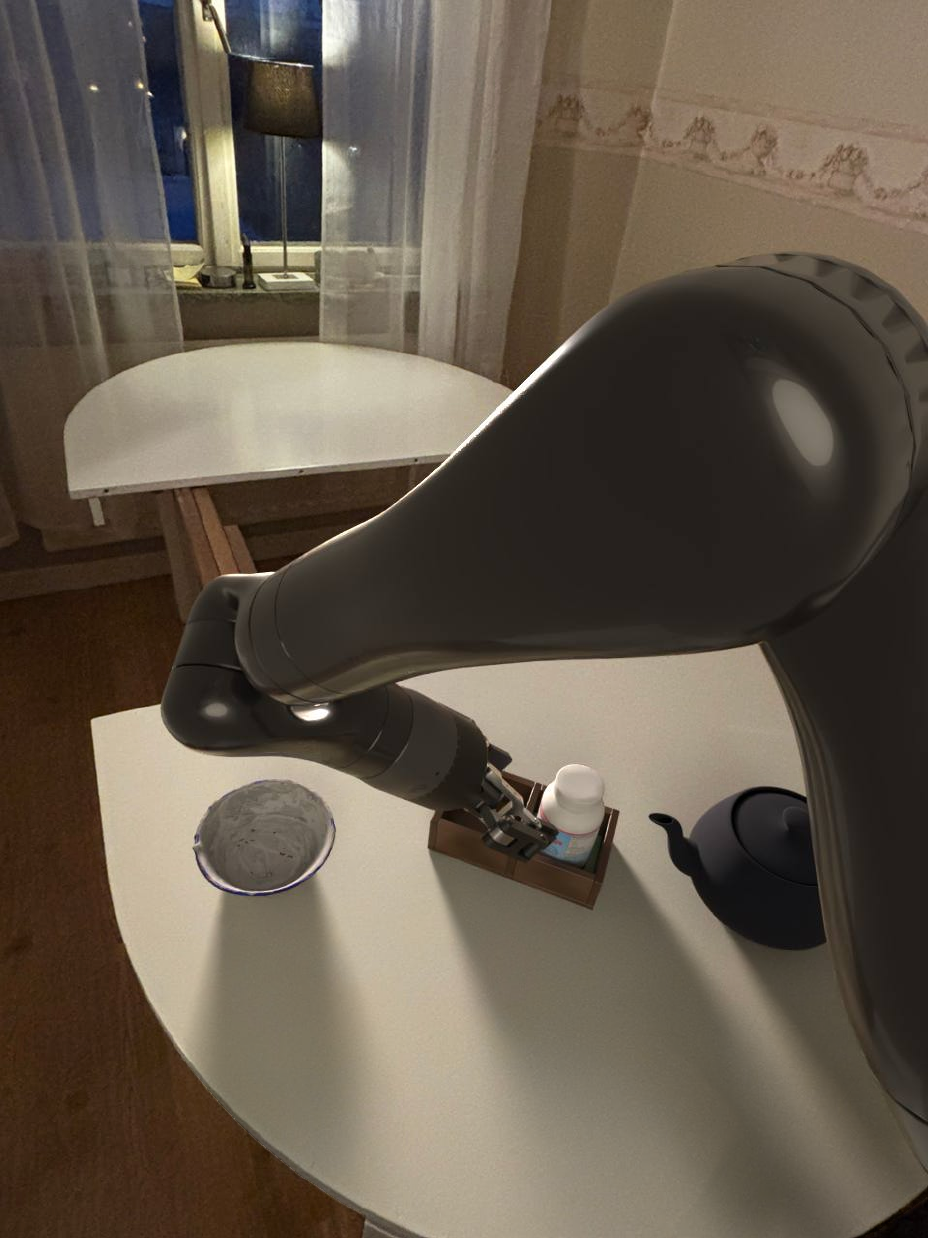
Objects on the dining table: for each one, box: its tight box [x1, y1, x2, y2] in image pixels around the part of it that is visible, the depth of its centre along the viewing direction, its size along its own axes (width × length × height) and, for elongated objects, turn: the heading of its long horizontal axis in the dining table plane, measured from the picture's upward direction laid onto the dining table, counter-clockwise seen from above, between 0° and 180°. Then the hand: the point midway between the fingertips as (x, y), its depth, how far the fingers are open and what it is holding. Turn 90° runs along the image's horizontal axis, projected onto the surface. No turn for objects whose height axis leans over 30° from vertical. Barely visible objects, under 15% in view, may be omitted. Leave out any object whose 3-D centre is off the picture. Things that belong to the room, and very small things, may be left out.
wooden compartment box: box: [427, 770, 621, 911], centre depth 76 cm, size 17×9×5 cm, turn 70°
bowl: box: [191, 778, 337, 899], centre depth 71 cm, size 13×13×5 cm
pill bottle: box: [537, 763, 606, 870], centre depth 72 cm, size 6×6×11 cm
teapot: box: [648, 785, 827, 952], centre depth 71 cm, size 25×16×12 cm, turn 86°
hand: (525, 799), depth 66 cm, fingers open, 8 cm apart
